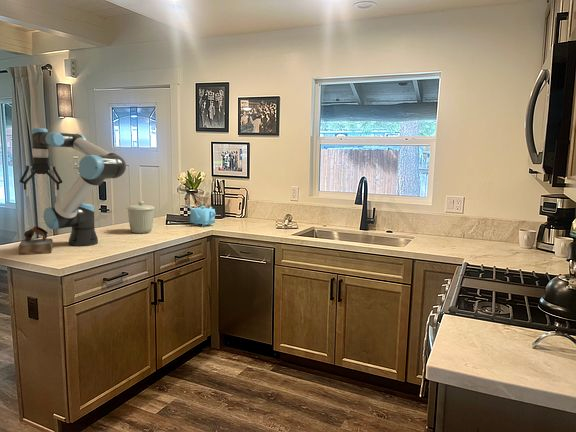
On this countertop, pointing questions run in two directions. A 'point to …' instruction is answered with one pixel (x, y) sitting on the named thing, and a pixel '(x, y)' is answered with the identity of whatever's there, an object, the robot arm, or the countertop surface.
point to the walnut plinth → (35, 246)
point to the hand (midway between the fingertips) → (42, 195)
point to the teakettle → (202, 215)
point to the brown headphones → (37, 230)
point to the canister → (141, 217)
